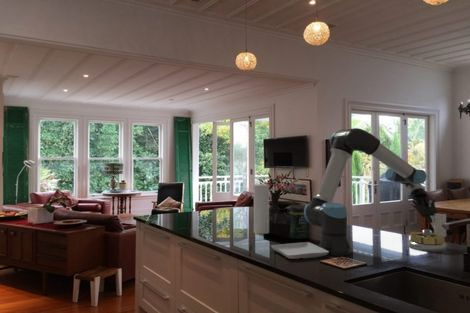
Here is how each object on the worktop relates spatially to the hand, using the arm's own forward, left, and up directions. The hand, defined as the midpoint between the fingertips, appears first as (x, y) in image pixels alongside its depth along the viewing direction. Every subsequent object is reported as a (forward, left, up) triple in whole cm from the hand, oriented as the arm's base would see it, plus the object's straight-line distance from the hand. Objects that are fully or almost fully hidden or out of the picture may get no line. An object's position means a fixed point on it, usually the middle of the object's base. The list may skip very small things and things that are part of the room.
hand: (436, 227), depth 196 cm
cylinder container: (-81, +52, -10) cm, 97 cm away
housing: (-6, -1, -10) cm, 12 cm away
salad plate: (-74, -4, -11) cm, 75 cm away
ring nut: (-6, -1, -7) cm, 9 cm away
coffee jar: (-63, +33, -10) cm, 72 cm away
